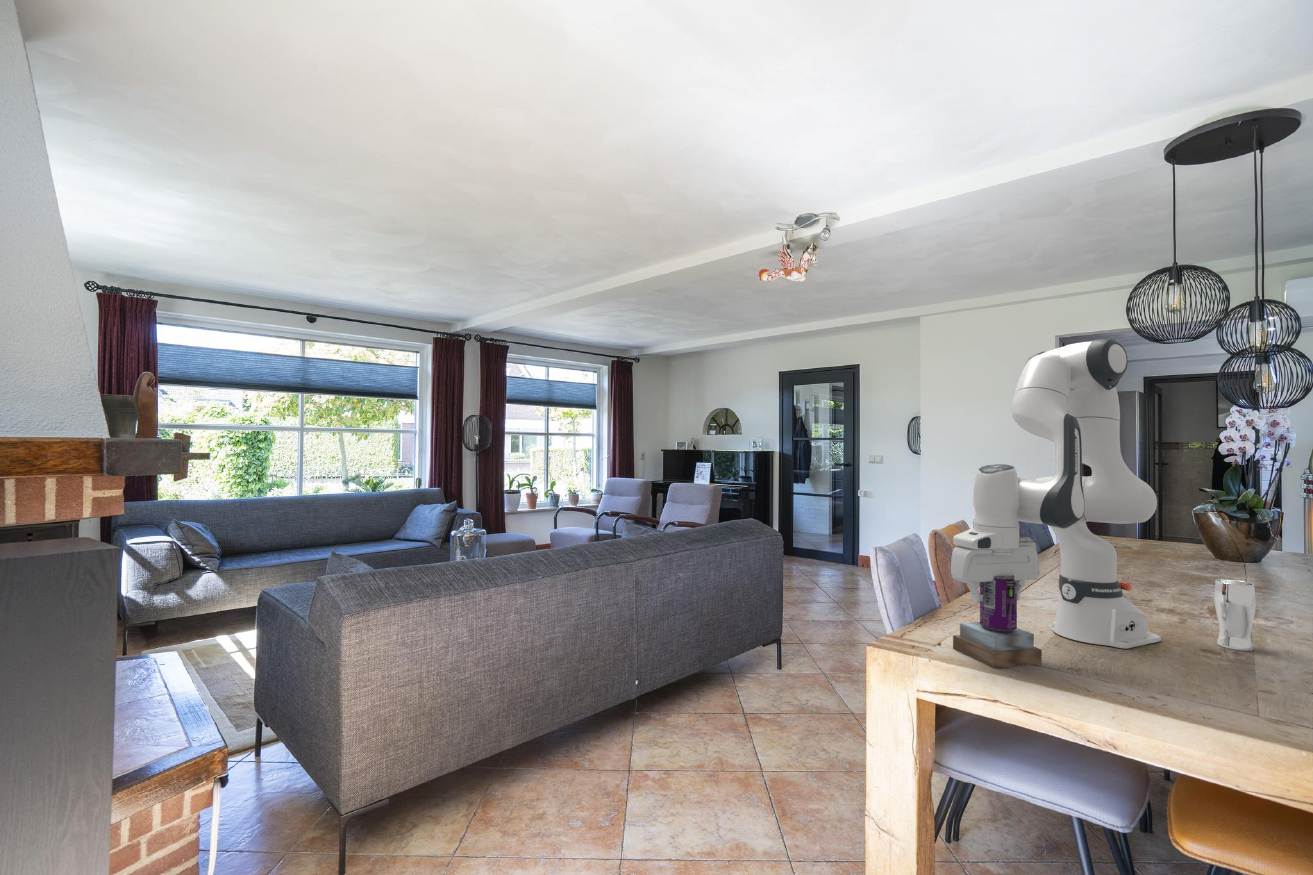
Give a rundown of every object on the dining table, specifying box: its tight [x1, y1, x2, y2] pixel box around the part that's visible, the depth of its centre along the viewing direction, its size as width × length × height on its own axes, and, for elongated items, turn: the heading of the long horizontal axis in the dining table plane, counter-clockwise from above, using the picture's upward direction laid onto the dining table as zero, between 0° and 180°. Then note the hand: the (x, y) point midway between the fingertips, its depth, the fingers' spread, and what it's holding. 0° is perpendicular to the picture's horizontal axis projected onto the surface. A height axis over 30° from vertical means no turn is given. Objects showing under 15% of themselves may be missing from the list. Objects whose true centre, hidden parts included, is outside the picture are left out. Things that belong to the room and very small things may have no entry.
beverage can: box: [979, 575, 1018, 632], centre depth 131 cm, size 7×7×12 cm
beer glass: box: [1213, 578, 1257, 652], centre depth 138 cm, size 7×7×15 cm
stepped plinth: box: [952, 621, 1043, 669], centre depth 131 cm, size 12×12×6 cm
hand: (995, 600), depth 131 cm, fingers open, 8 cm apart
